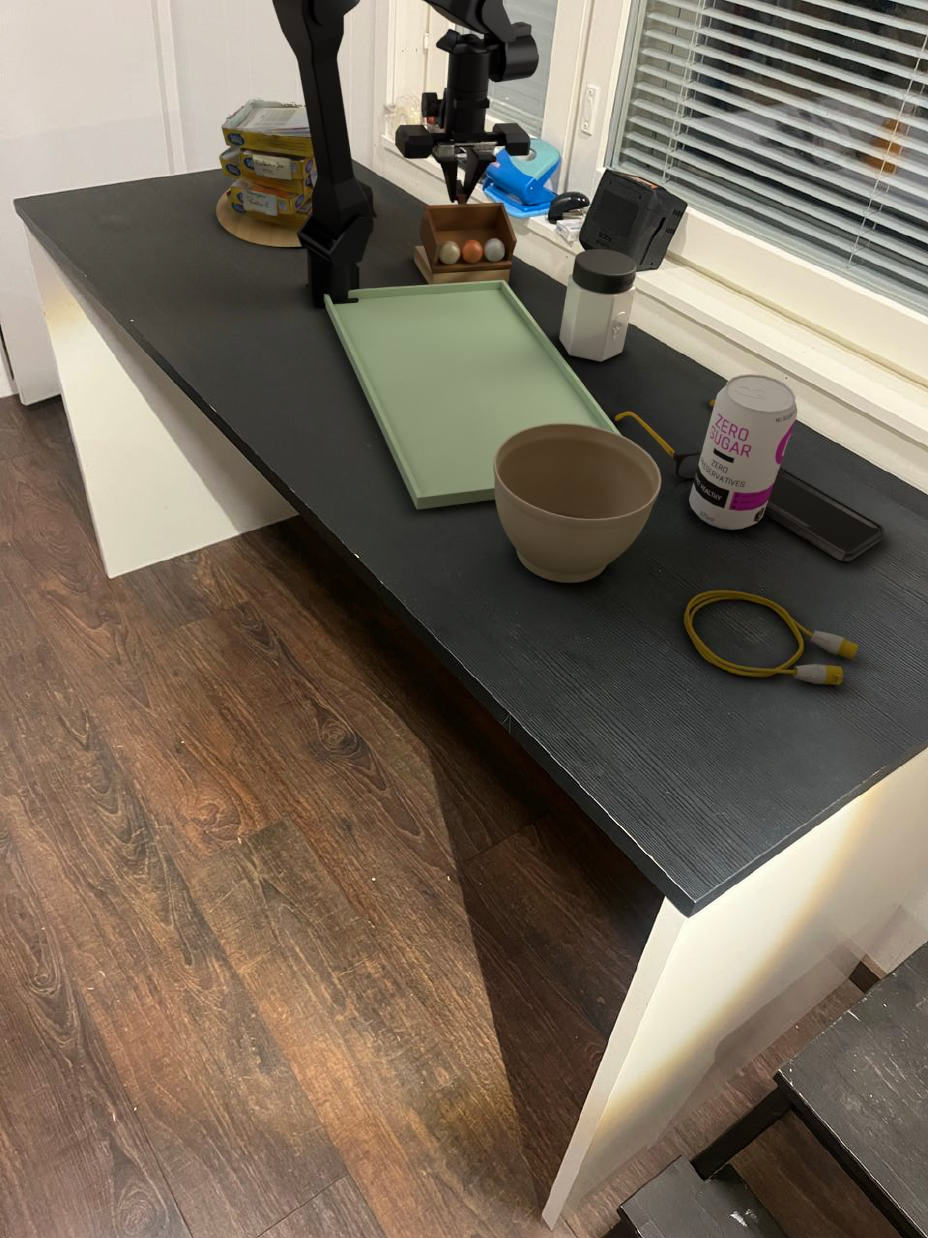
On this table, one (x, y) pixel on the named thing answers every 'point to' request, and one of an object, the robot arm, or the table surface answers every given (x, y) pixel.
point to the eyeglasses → (668, 449)
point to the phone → (820, 518)
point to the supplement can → (743, 451)
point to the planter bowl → (572, 497)
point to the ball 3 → (494, 250)
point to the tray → (456, 380)
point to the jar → (598, 304)
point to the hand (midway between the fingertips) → (458, 201)
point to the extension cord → (822, 639)
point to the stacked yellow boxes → (267, 173)
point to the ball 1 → (449, 252)
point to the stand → (458, 277)
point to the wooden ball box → (466, 232)
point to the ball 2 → (471, 251)
